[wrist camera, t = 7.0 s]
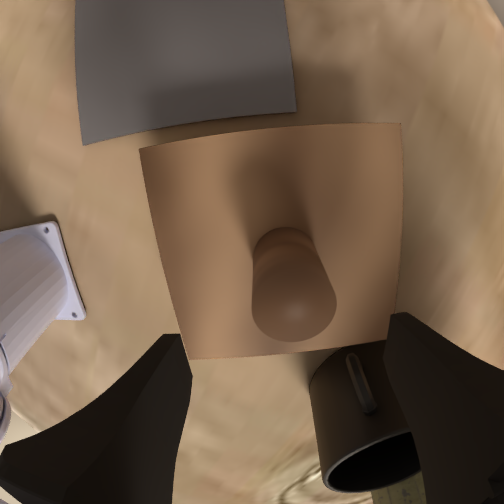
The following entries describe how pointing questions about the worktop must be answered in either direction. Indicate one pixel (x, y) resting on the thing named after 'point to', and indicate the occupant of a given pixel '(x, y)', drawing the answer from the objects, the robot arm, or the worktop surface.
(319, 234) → the lid
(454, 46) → the worktop surface
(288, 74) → the mat
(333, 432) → the mug
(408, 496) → the thermos
